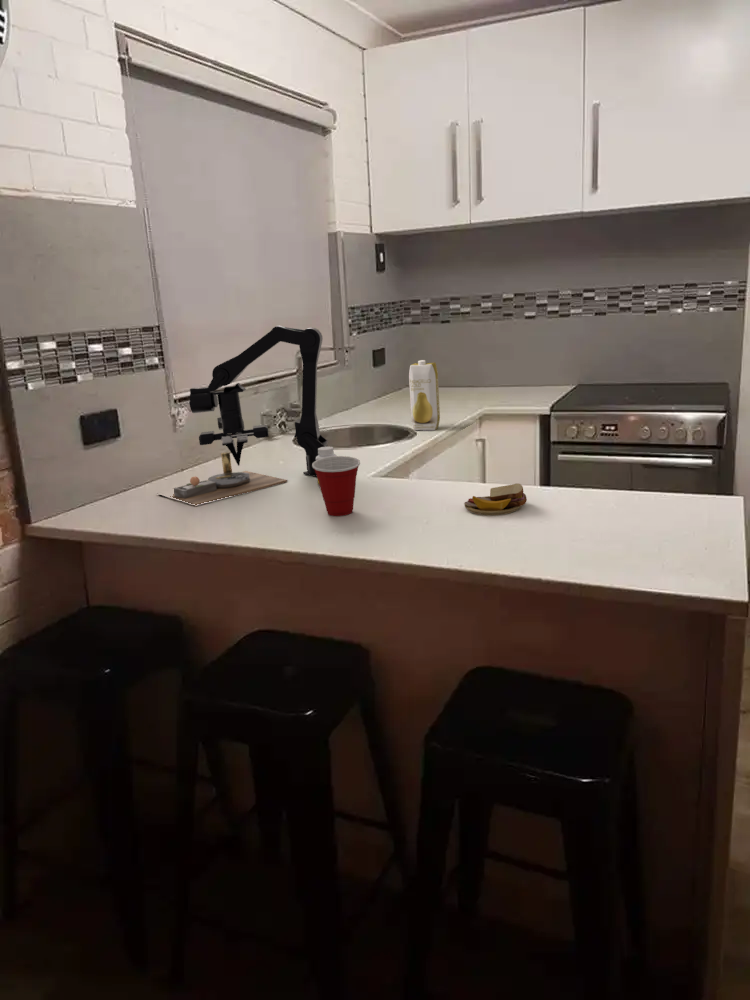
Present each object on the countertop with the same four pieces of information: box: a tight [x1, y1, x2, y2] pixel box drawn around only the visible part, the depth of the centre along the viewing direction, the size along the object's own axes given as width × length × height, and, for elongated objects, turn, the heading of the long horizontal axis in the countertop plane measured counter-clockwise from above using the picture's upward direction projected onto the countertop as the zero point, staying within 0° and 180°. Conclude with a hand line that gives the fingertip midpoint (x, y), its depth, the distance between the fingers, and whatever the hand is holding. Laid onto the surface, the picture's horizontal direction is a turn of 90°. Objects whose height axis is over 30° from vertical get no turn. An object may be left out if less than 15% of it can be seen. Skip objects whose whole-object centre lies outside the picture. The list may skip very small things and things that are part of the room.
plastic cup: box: [312, 455, 361, 517], centre depth 169 cm, size 11×11×12 cm
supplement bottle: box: [316, 446, 337, 488], centre depth 194 cm, size 6×6×10 cm
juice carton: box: [408, 359, 441, 431], centre depth 262 cm, size 9×8×24 cm
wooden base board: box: [170, 470, 288, 505], centre depth 201 cm, size 20×28×3 cm
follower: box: [182, 475, 215, 490], centre depth 196 cm, size 3×8×4 cm, turn 133°
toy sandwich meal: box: [464, 483, 528, 516], centre depth 166 cm, size 12×14×5 cm
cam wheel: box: [208, 452, 250, 488], centre depth 203 cm, size 12×12×7 cm
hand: (238, 465), depth 210 cm, fingers closed
